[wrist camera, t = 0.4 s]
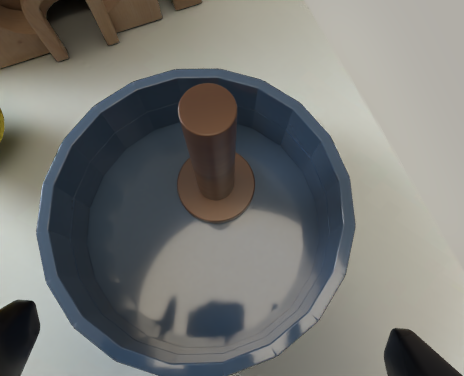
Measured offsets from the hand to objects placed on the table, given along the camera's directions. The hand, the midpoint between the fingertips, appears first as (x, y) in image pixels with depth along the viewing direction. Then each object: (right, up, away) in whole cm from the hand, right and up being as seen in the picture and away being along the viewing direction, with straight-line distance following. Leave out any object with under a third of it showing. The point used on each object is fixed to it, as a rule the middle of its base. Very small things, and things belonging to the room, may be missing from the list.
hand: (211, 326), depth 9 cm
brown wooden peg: (0, +4, +14) cm, 14 cm away
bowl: (-1, +1, +14) cm, 14 cm away
